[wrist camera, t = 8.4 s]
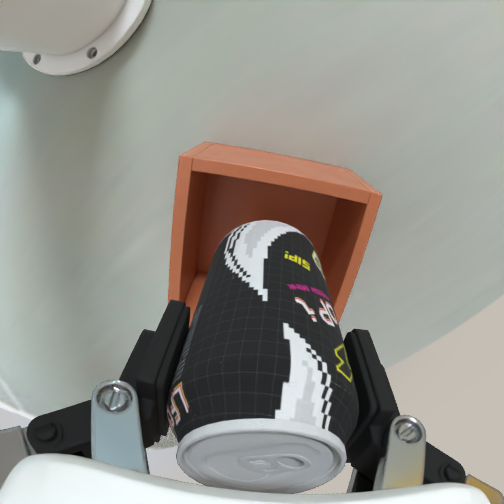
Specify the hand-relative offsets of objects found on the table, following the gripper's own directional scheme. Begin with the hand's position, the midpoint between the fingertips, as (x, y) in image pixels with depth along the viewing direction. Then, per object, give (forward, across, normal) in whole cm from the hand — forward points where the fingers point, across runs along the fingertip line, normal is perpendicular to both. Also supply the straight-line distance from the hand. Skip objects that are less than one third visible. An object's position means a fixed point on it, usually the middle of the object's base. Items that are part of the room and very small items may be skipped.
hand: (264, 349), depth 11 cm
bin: (+13, 0, 0) cm, 13 cm away
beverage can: (+7, 0, 0) cm, 7 cm away
